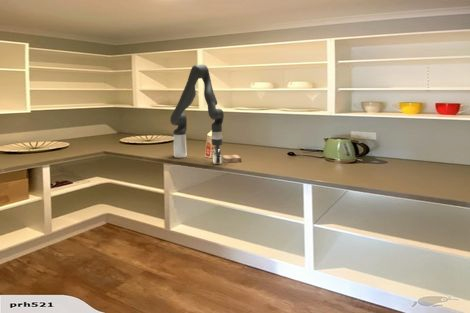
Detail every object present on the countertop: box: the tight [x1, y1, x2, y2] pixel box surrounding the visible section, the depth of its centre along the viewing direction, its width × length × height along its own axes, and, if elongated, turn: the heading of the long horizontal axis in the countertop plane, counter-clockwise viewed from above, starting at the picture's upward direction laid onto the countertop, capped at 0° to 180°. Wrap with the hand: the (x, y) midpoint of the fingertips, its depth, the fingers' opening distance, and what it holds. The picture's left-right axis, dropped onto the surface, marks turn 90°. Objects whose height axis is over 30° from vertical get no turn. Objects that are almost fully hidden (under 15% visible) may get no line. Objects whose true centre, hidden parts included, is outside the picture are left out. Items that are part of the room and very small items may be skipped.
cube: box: [212, 153, 223, 165], centre depth 265 cm, size 5×5×6 cm
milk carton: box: [204, 129, 214, 159], centre depth 287 cm, size 9×9×20 cm
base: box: [221, 154, 242, 164], centre depth 272 cm, size 12×12×3 cm
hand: (217, 162), depth 265 cm, fingers closed on cube, 5 cm apart
